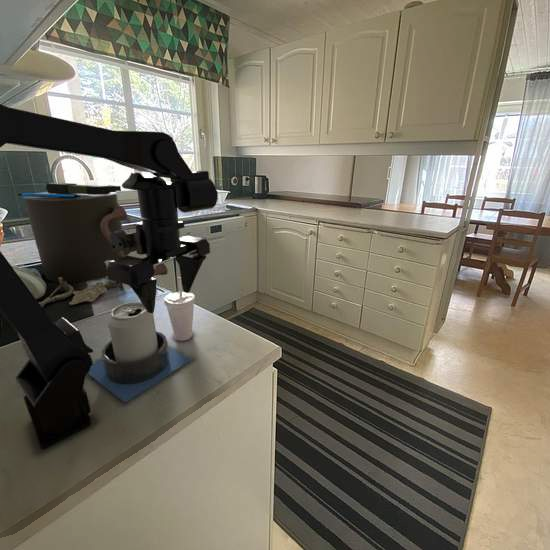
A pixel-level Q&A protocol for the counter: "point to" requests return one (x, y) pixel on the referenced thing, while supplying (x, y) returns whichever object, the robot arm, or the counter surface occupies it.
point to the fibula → (62, 287)
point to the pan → (136, 364)
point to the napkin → (132, 390)
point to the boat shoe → (32, 281)
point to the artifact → (88, 294)
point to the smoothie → (181, 312)
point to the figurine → (121, 285)
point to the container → (73, 235)
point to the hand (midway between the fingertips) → (169, 301)
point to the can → (132, 332)
